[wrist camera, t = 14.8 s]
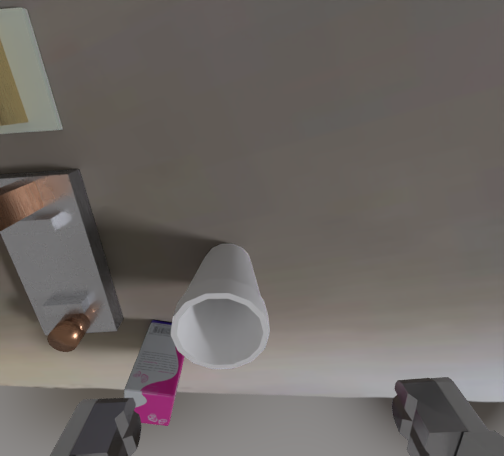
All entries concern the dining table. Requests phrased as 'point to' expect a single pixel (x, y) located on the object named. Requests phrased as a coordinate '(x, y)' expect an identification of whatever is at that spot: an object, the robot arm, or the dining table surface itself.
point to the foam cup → (221, 312)
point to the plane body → (58, 254)
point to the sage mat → (27, 73)
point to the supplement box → (155, 375)
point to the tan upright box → (9, 95)
